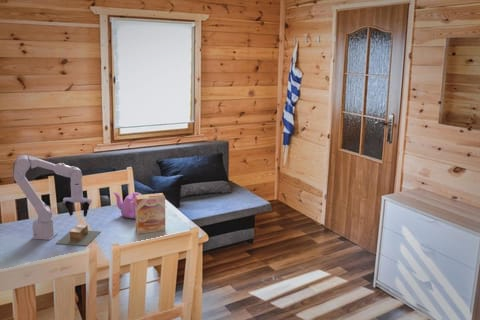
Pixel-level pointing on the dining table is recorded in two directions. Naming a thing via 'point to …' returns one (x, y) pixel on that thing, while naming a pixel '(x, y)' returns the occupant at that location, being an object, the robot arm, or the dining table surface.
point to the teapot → (127, 205)
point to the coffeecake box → (150, 213)
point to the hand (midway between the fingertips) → (78, 215)
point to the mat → (83, 242)
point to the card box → (78, 232)
